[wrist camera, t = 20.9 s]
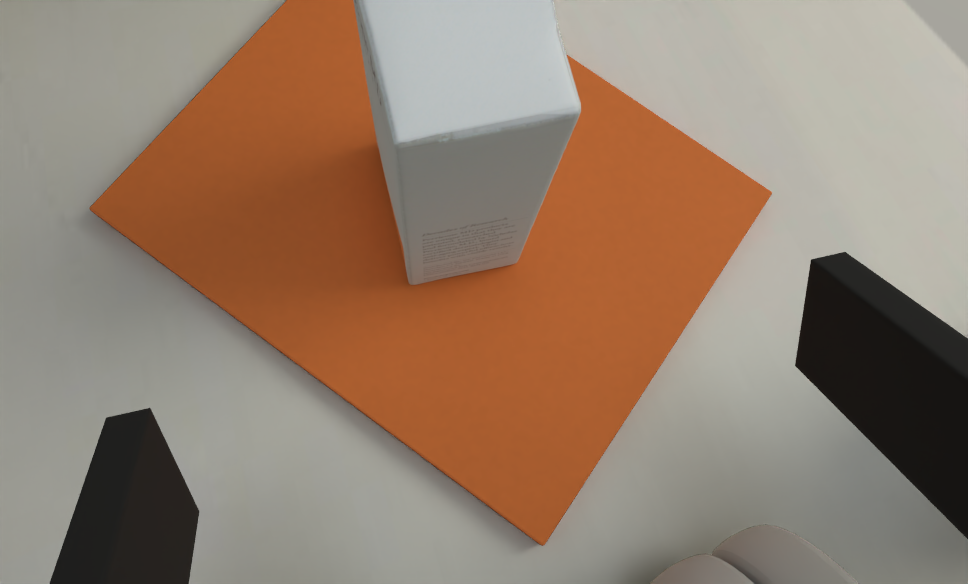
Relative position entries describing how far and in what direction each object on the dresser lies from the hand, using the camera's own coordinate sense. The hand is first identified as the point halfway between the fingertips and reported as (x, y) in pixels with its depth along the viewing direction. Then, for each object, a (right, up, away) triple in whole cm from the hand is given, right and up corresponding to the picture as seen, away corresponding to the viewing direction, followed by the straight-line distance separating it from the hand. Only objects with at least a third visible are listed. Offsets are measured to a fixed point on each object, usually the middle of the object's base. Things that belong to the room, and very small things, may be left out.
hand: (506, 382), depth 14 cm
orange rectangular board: (-2, +5, +13) cm, 14 cm away
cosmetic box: (-2, +5, +13) cm, 14 cm away
